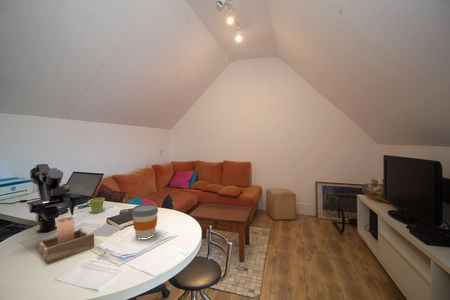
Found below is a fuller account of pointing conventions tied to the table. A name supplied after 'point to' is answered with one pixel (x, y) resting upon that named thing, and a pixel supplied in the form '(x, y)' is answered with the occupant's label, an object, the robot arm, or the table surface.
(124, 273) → the table surface
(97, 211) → the plant pot
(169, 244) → the table surface
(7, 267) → the table surface
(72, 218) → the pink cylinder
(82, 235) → the open wooden box
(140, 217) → the reusable coffee cup
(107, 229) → the grey mat
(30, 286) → the table surface
